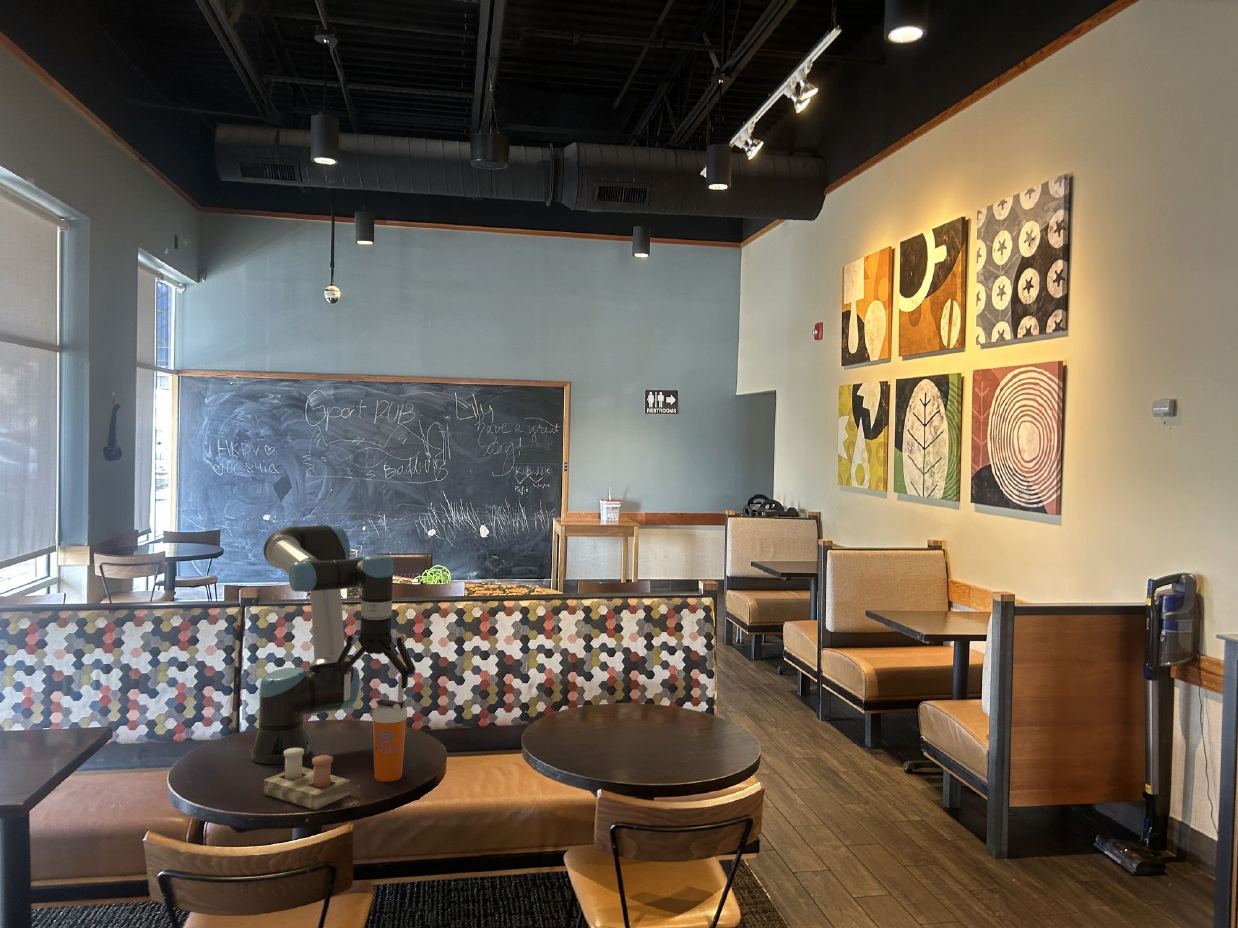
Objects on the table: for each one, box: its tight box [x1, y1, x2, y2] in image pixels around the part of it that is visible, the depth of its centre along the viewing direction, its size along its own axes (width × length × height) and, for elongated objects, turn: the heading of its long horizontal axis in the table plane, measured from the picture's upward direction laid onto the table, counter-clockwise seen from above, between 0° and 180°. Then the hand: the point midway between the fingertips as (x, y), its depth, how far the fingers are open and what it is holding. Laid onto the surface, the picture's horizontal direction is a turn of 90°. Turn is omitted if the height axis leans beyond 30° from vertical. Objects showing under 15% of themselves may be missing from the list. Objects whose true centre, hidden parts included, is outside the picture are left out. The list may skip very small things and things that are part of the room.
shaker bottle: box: [371, 698, 408, 783], centre depth 224 cm, size 9×9×20 cm
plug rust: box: [311, 754, 334, 789], centre depth 209 cm, size 5×5×7 cm
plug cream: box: [284, 748, 304, 781], centre depth 213 cm, size 5×5×7 cm
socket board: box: [263, 766, 351, 811], centre depth 211 cm, size 18×11×4 cm, turn 62°
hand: (373, 699), depth 215 cm, fingers open, 13 cm apart
